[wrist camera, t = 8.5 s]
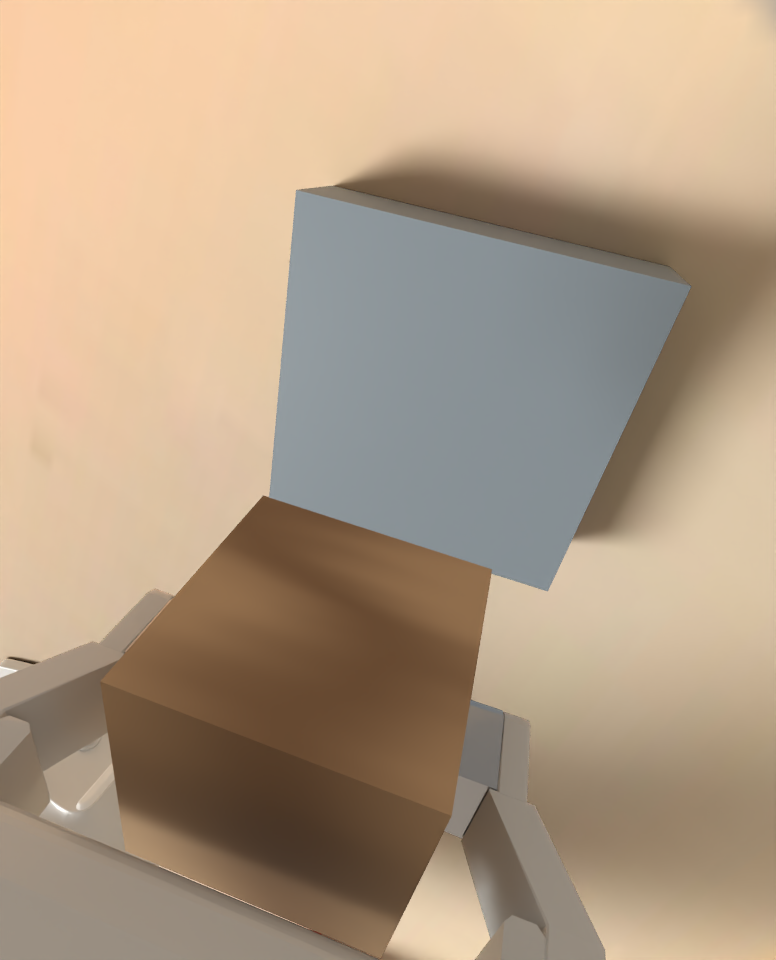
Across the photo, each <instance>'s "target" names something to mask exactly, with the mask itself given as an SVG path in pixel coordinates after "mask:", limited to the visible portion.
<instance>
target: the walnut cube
mask: <svg viewBox="0 0 776 960" xmlns="http://www.w3.org/2000/svg"><path fill="white" fill-rule="evenodd" d="M491 572H492V569H489V568H486V567H483V566H480V565H477V564H474V563H471V562H468V561H465V560H461V559H458V558H455V557H452V556H449V555H446V554H443V553H440V552H437V551H434V550H430V549H427V548H424V547H421V546H418V545H415V544H412V543H409V542H406V541H403V540H399V539H396V538H393V537H390V536H387V535H384V534H381V533H378V532H375V531H372V530H368V529H365V528H362V527H359V526H356V525H353V524H350V523H347V522H344V521H341V520H338V519H334V518H331V517H328V516H325V515H322V514H319V513H316V512H313V511H310V510H307V509H303V508H300V507H297V506H294V505H291V504H288V503H285V502H282V501H279V500H276V499H272V498H269V497H266V496H263V497H262V498H261V499H260V500H259V501H258V502H257V503H256V505H255V506H254V507H253V508H252V509H251V510H250V511H249V513H248V514H247V515H246V516H245V517H244V518H243V519H242V521H241V522H240V523H239V524H238V525H237V526H236V527H235V529H234V530H233V531H232V532H231V533H230V534H229V535H228V536H227V538H226V539H225V540H224V541H223V542H222V543H221V544H220V546H219V547H218V548H217V549H216V550H215V551H214V552H213V554H212V555H211V556H210V557H209V558H208V559H207V560H206V562H205V563H204V564H203V565H202V566H201V567H200V568H199V569H198V571H197V572H196V573H195V574H194V575H193V576H192V577H191V579H190V580H189V581H188V582H187V583H186V584H185V585H184V587H183V588H182V589H181V590H180V591H179V592H178V593H177V595H176V596H175V597H174V598H173V599H172V600H171V601H170V602H169V604H168V605H167V606H166V607H165V608H164V609H163V610H162V612H161V613H160V614H159V615H158V616H157V617H156V618H155V620H154V621H153V622H152V623H151V624H150V625H149V626H148V628H147V629H146V630H145V631H144V632H143V633H142V634H141V635H140V637H139V638H138V639H137V640H136V641H135V642H134V643H133V645H132V646H131V647H130V648H129V649H128V650H127V651H126V653H125V654H124V655H123V656H122V657H121V658H120V659H119V661H118V662H117V663H116V664H115V665H114V666H113V667H112V668H111V670H110V671H109V672H108V673H107V674H106V675H105V676H104V678H103V679H102V680H101V681H100V684H101V691H102V697H103V704H104V711H105V718H106V724H107V731H108V738H109V744H110V751H111V758H112V765H113V771H114V778H115V785H116V791H117V798H118V805H119V811H120V818H121V825H122V832H123V838H124V845H125V851H127V852H129V853H131V854H134V855H136V856H138V857H141V858H143V859H146V860H148V861H150V862H153V863H155V864H157V865H160V866H162V867H164V868H167V869H169V870H172V871H174V872H176V873H179V874H181V875H183V876H186V877H188V878H190V879H193V880H195V881H198V882H200V883H202V884H205V885H207V886H209V887H212V888H214V889H217V890H219V891H221V892H224V893H226V894H228V895H231V896H233V897H235V898H238V899H240V900H243V901H245V902H247V903H250V904H252V905H254V906H257V907H259V908H261V909H264V910H266V911H269V912H271V913H273V914H276V915H278V916H280V917H283V918H285V919H287V920H290V921H292V922H295V923H297V924H299V925H302V926H304V927H306V928H309V929H311V930H313V931H316V932H318V933H321V934H323V935H325V936H328V937H330V938H332V939H335V940H337V941H339V942H342V943H344V944H347V945H349V946H351V947H354V948H356V949H358V950H361V951H363V952H365V953H368V954H370V955H373V956H375V957H377V958H380V959H381V957H382V955H383V953H384V951H385V949H386V947H387V945H388V943H389V941H390V939H391V937H392V935H393V933H394V931H395V929H396V927H397V925H398V923H399V921H400V919H401V917H402V915H403V913H404V911H405V909H406V907H407V905H408V903H409V901H410V899H411V897H412V895H413V893H414V891H415V889H416V887H417V885H418V883H419V881H420V879H421V877H422V875H423V873H424V871H425V869H426V867H427V865H428V863H429V861H430V859H431V857H432V855H433V853H434V851H435V849H436V847H437V845H438V843H439V841H440V838H441V836H442V834H443V832H444V830H445V828H446V826H447V824H448V822H449V820H450V818H451V816H452V811H453V805H454V799H455V793H456V786H457V780H458V774H459V768H460V762H461V756H462V750H463V744H464V737H465V731H466V725H467V719H468V713H469V707H470V701H471V695H472V689H473V682H474V676H475V670H476V664H477V658H478V652H479V646H480V640H481V634H482V627H483V621H484V615H485V609H486V603H487V597H488V591H489V585H490V578H491Z"/></svg>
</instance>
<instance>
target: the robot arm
mask: <svg viewBox="0 0 776 960" xmlns="http://www.w3.org/2000/svg"><path fill="white" fill-rule="evenodd" d="M174 597H175V596H174V595H171V594H169V593H166V592H163V591H160V590H158V589H153V590H152V591H150V592H148V593H146V594H145V596H144V597H143V598H142V599H141V600H140V601H139V602H138V603H137V604H136V605H135V606H134V607H133V608H132V609H131V610H130V611H129V612H128V613H127V614H126V616H125V617H124V618H123V619H122V620H121V621H120V622H119V623H118V624H117V625H116V626H115V627H114V628H113V629H112V630H111V631H110V632H109V633H108V634H107V635H106V637H105V638H104V639H103V640H102V641H101V642H100V643H96V642H93V641H92V642H90V643H87V644H85V645H82V646H79V647H77V648H74V649H72V650H69V651H67V652H64V653H62V654H59V655H57V656H54V657H52V658H49V659H47V660H44V661H42V662H39V663H36V664H30V663H26V662H21V661H17V660H13V659H4V660H3V661H2V662H1V663H0V960H380V959H378V958H375V957H373V956H370V955H368V954H366V953H363V952H361V951H359V950H356V949H354V948H351V947H349V946H347V945H344V944H342V943H339V942H337V941H335V940H332V939H330V938H328V937H325V936H323V935H320V934H318V933H316V932H313V931H311V930H309V929H306V928H304V927H301V926H299V925H297V924H294V923H292V922H289V921H287V920H285V919H282V918H280V917H278V916H275V915H273V914H270V913H268V912H266V911H263V910H261V909H258V908H256V907H254V906H251V905H249V904H247V903H244V902H242V901H239V900H237V899H235V898H232V897H230V896H227V895H225V894H223V893H220V892H218V891H216V890H213V889H211V888H208V887H206V886H204V885H201V884H199V883H196V882H194V881H192V880H189V879H187V878H185V877H182V876H180V875H177V874H175V873H173V872H170V871H168V870H165V869H163V868H161V867H159V865H157V864H155V863H153V862H150V861H148V860H146V859H143V858H141V857H138V856H136V855H134V854H131V853H129V852H127V851H125V845H124V838H123V832H122V825H121V818H120V811H119V805H118V798H117V791H116V785H115V778H114V771H113V765H112V758H111V751H110V744H109V738H108V731H107V724H106V718H105V711H104V704H103V697H102V691H101V684H100V681H101V680H102V679H103V678H104V676H105V675H106V674H107V673H108V672H109V671H110V670H111V668H112V667H113V666H114V665H115V664H116V663H117V662H118V661H119V659H120V658H121V657H122V656H123V655H124V654H125V653H126V651H127V650H128V649H129V648H130V647H131V646H132V645H133V643H134V642H135V641H136V640H137V639H138V638H139V637H140V635H141V634H142V633H143V632H144V631H145V630H146V629H147V628H148V626H149V625H150V624H151V623H152V622H153V621H154V620H155V618H156V617H157V616H158V615H159V614H160V613H161V612H162V610H163V609H164V608H165V607H166V606H167V605H168V604H169V602H170V601H171V600H172V599H173V598H174ZM529 749H530V723H529V721H528V720H526V719H523V718H520V717H517V716H514V715H512V714H509V713H506V712H503V711H502V710H499V709H496V708H493V707H490V706H487V705H484V704H481V703H478V702H475V701H472V700H471V701H470V707H469V713H468V719H467V725H466V731H465V737H464V744H463V750H462V756H461V762H460V768H459V774H458V780H457V786H456V793H455V799H454V805H453V811H452V816H451V818H450V820H449V822H448V824H447V826H446V828H445V830H444V831H445V832H447V833H450V834H452V835H454V836H457V837H459V838H462V840H461V842H462V845H463V849H464V852H465V855H466V859H467V862H468V865H469V869H470V872H471V875H472V879H473V882H474V885H475V889H476V892H477V895H478V899H479V902H480V905H481V909H482V912H483V915H484V919H485V922H486V925H487V929H488V932H489V935H490V941H489V942H488V943H487V944H486V946H485V947H484V948H483V950H482V951H481V952H480V954H479V955H478V956H477V957H476V959H475V960H606V959H605V949H604V947H603V945H602V943H601V941H600V939H599V937H598V935H597V932H596V930H595V928H594V926H593V924H592V922H591V920H590V918H589V916H588V914H587V912H586V910H585V908H584V906H583V904H582V902H581V900H580V897H579V895H578V893H577V891H576V889H575V887H574V885H573V883H572V881H571V879H570V877H569V875H568V873H567V871H566V869H565V867H564V865H563V862H562V860H561V858H560V856H559V854H558V852H557V850H556V848H555V846H554V844H553V842H552V840H551V838H550V836H549V834H548V832H547V830H546V827H545V825H544V823H543V821H542V819H541V817H540V815H539V813H538V811H537V809H536V807H535V805H532V804H530V803H528V802H527V794H528V771H529Z"/></svg>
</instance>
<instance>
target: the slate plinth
mask: <svg viewBox="0 0 776 960" xmlns="http://www.w3.org/2000/svg"><path fill="white" fill-rule="evenodd" d="M690 288H691V285H690V284H688V283H687V282H686V281H685V280H684V279H683V278H682V277H681V276H679V275H678V274H677V273H676V272H675V271H674V270H673V269H672V268H671V267H669V266H665V265H660V264H656V263H652V262H648V261H644V260H640V259H635V258H631V257H627V256H623V255H619V254H615V253H611V252H606V251H602V250H598V249H594V248H590V247H586V246H581V245H577V244H573V243H569V242H565V241H561V240H557V239H552V238H548V237H544V236H540V235H536V234H532V233H527V232H523V231H519V230H515V229H511V228H507V227H502V226H498V225H494V224H490V223H486V222H482V221H478V220H473V219H469V218H465V217H461V216H457V215H453V214H448V213H444V212H440V211H436V210H432V209H428V208H423V207H419V206H415V205H411V204H407V203H403V202H399V201H394V200H390V199H386V198H382V197H378V196H374V195H369V194H365V193H361V192H357V191H353V190H349V189H344V188H340V187H336V186H327V187H318V188H309V189H301V190H296V198H295V209H294V221H293V232H292V243H291V255H290V266H289V278H288V289H287V301H286V312H285V323H284V335H283V346H282V358H281V369H280V381H279V392H278V403H277V415H276V426H275V438H274V449H273V461H272V472H271V483H270V495H269V498H272V499H276V500H279V501H282V502H285V503H288V504H291V505H294V506H297V507H300V508H303V509H307V510H310V511H313V512H316V513H319V514H322V515H325V516H328V517H331V518H334V519H338V520H341V521H344V522H347V523H350V524H353V525H356V526H359V527H362V528H365V529H368V530H372V531H375V532H378V533H381V534H384V535H387V536H390V537H393V538H396V539H399V540H403V541H406V542H409V543H412V544H415V545H418V546H421V547H424V548H427V549H430V550H434V551H437V552H440V553H443V554H446V555H449V556H452V557H455V558H458V559H461V560H465V561H468V562H471V563H474V564H477V565H480V566H483V567H486V568H489V569H492V572H491V574H495V575H498V576H501V577H504V578H507V579H510V580H514V581H517V582H520V583H523V584H526V585H529V586H533V587H536V588H539V589H542V590H545V591H548V589H549V587H550V585H551V583H552V581H553V579H554V577H555V575H556V573H557V570H558V568H559V566H560V564H561V562H562V560H563V558H564V556H565V553H566V551H567V549H568V547H569V545H570V543H571V541H572V539H573V536H574V534H575V532H576V530H577V528H578V526H579V524H580V522H581V519H582V517H583V515H584V513H585V511H586V509H587V507H588V505H589V503H590V500H591V498H592V496H593V494H594V492H595V490H596V488H597V486H598V483H599V481H600V479H601V477H602V475H603V473H604V471H605V469H606V466H607V464H608V462H609V460H610V458H611V456H612V454H613V452H614V450H615V447H616V445H617V443H618V441H619V439H620V437H621V435H622V433H623V430H624V428H625V426H626V424H627V422H628V420H629V418H630V416H631V413H632V411H633V409H634V407H635V405H636V403H637V401H638V399H639V396H640V394H641V392H642V390H643V388H644V386H645V384H646V382H647V380H648V377H649V375H650V373H651V371H652V369H653V367H654V365H655V363H656V360H657V358H658V356H659V354H660V352H661V350H662V348H663V346H664V343H665V341H666V339H667V337H668V335H669V333H670V331H671V329H672V326H673V324H674V322H675V320H676V318H677V316H678V314H679V312H680V310H681V307H682V305H683V303H684V301H685V299H686V297H687V295H688V293H689V290H690Z"/></svg>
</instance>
